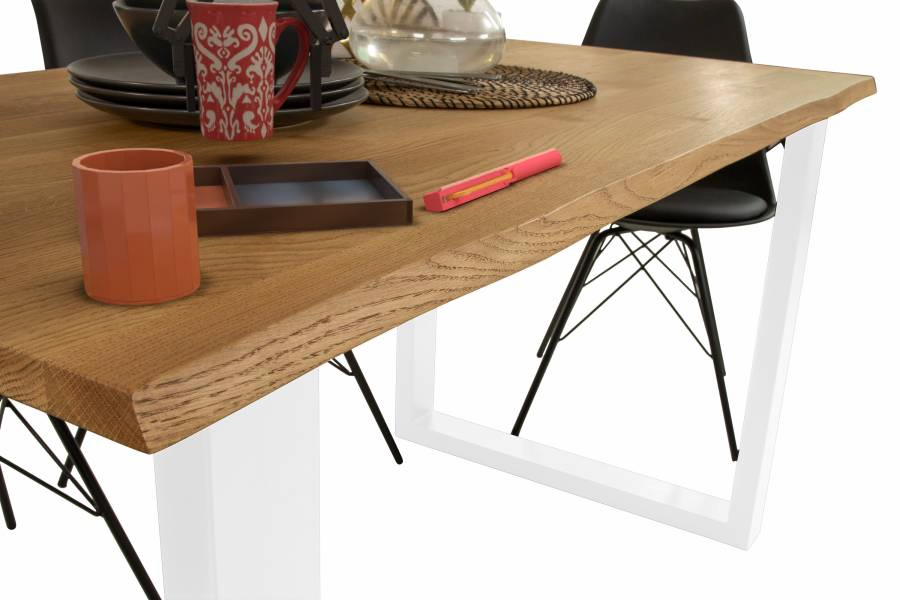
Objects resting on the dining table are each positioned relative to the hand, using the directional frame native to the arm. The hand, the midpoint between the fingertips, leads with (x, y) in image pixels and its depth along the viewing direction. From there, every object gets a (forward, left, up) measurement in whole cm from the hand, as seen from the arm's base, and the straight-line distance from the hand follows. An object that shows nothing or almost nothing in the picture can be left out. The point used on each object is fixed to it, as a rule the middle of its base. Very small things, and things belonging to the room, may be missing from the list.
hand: (254, 110), depth 104 cm
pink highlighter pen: (+21, -16, -6) cm, 27 cm away
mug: (0, 0, -3) cm, 3 cm away
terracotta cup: (-12, -39, -6) cm, 41 cm away
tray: (-3, -20, -6) cm, 21 cm away
